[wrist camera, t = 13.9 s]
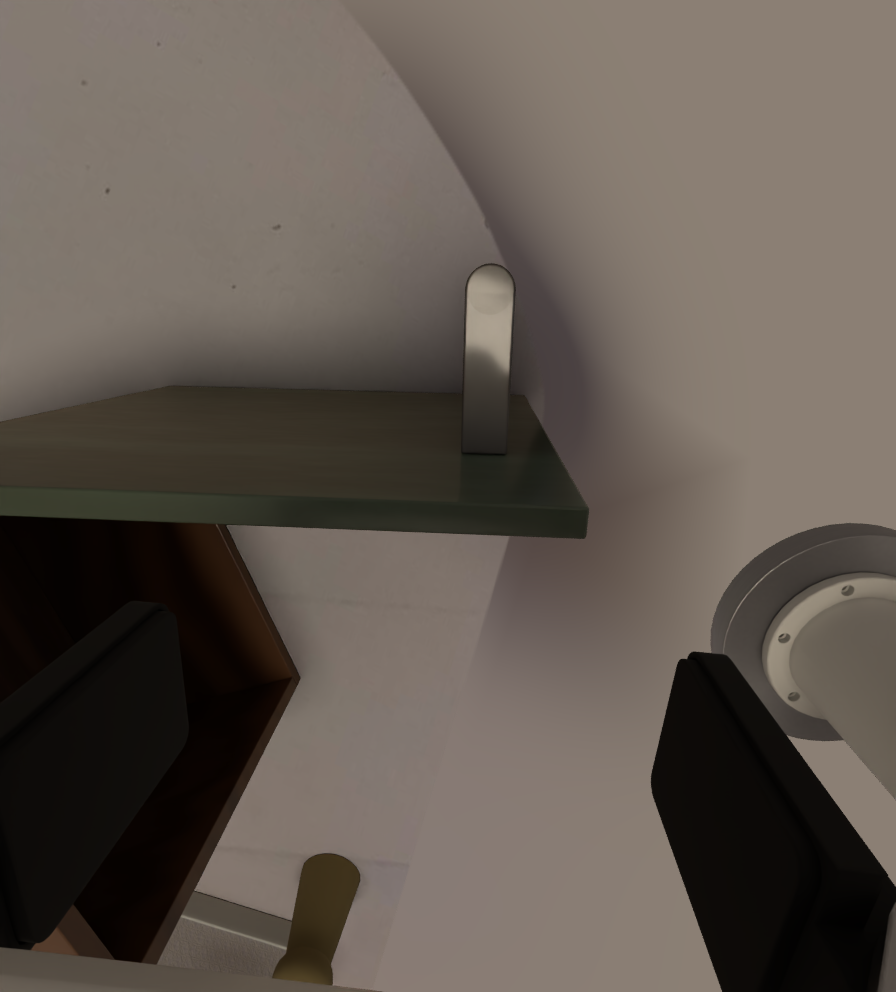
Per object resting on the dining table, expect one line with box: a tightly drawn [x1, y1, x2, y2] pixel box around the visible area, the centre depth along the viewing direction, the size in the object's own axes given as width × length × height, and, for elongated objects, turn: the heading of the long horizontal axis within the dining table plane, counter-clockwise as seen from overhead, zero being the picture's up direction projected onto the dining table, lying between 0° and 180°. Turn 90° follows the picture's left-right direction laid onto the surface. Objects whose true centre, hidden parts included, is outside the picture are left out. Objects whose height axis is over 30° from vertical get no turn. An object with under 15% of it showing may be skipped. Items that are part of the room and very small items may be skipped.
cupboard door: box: [0, 263, 589, 539], centre depth 26 cm, size 8×26×24 cm, turn 89°
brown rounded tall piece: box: [272, 854, 360, 985], centre depth 49 cm, size 6×6×11 cm
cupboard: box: [0, 515, 300, 965], centre depth 33 cm, size 18×26×24 cm
